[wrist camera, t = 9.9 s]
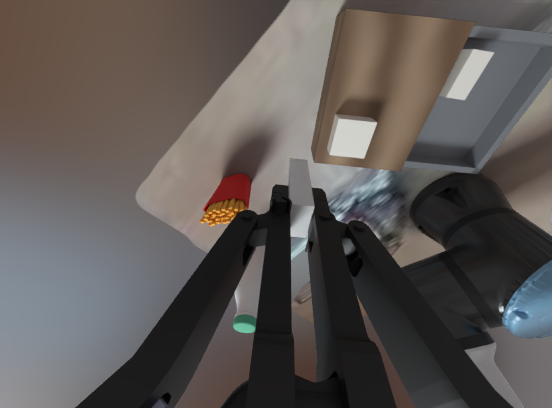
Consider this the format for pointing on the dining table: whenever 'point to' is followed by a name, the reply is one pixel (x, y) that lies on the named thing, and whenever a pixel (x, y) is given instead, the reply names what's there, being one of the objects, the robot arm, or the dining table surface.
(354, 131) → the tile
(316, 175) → the dining table surface
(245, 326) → the milk bottle
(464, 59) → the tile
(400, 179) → the dining table surface
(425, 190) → the robot arm
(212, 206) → the french fries
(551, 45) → the box
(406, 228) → the dining table surface
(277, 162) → the dining table surface
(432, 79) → the walnut platform
